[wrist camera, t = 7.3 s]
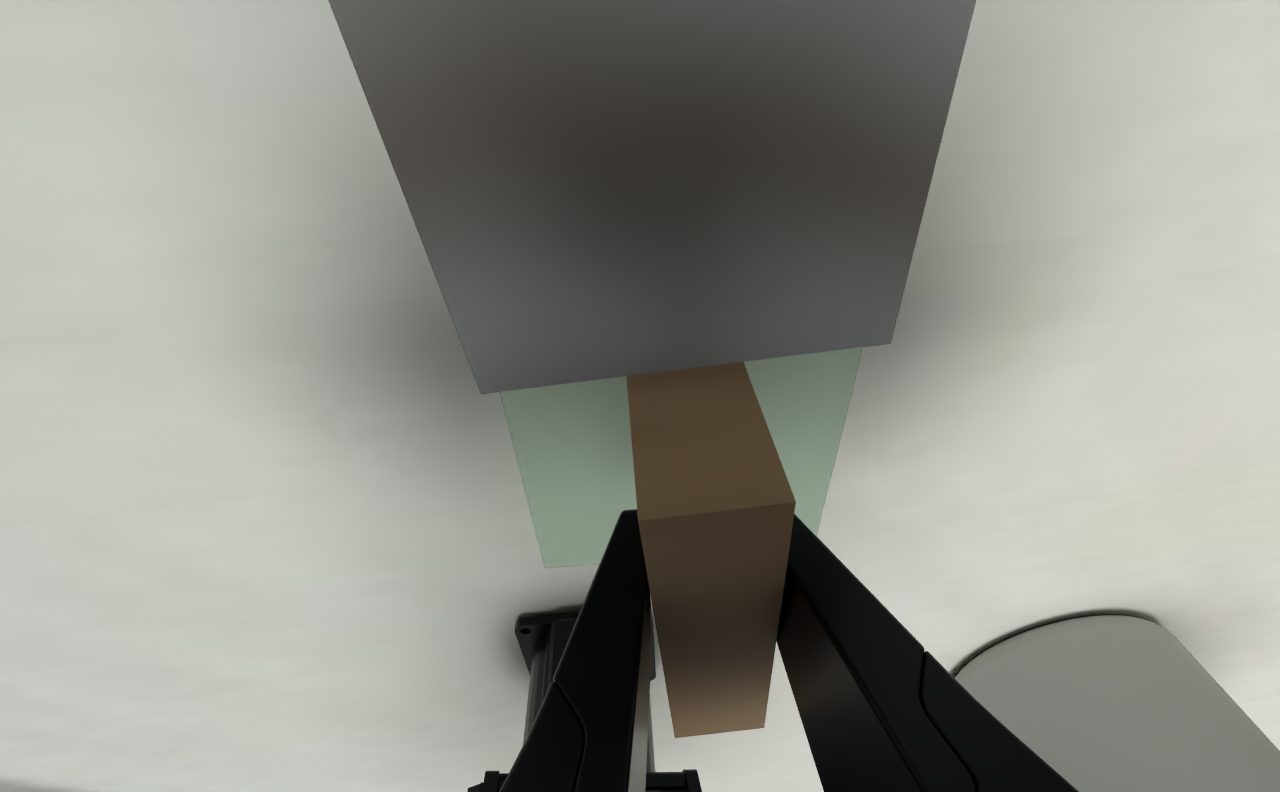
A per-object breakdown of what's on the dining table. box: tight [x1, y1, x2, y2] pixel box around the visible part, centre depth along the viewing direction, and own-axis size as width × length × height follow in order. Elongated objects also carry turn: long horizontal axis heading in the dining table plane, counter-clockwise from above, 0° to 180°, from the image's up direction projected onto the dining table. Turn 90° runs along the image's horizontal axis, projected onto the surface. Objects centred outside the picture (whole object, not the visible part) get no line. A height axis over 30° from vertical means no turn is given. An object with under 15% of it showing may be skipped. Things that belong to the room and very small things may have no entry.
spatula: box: [329, 0, 976, 738], centre depth 9 cm, size 14×7×4 cm, turn 6°
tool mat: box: [500, 347, 863, 568], centre depth 16 cm, size 18×11×1 cm, turn 3°
